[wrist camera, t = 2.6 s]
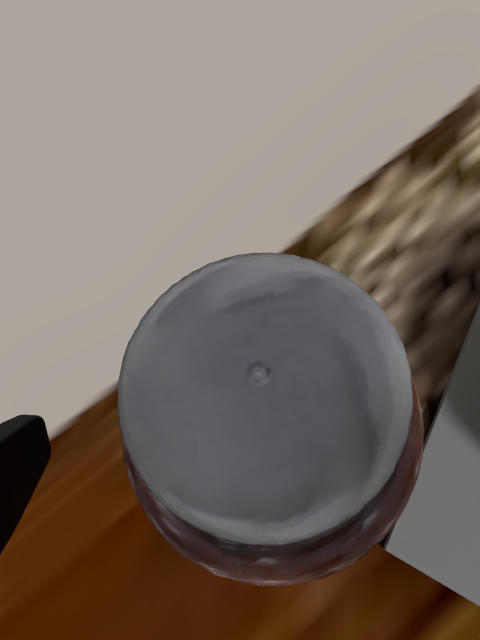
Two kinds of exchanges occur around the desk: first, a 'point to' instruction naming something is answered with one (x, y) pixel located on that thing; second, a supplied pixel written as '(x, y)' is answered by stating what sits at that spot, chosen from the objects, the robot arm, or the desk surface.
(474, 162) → the desk surface
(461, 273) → the desk surface
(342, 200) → the desk surface
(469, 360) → the mat
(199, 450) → the supplement bottle
